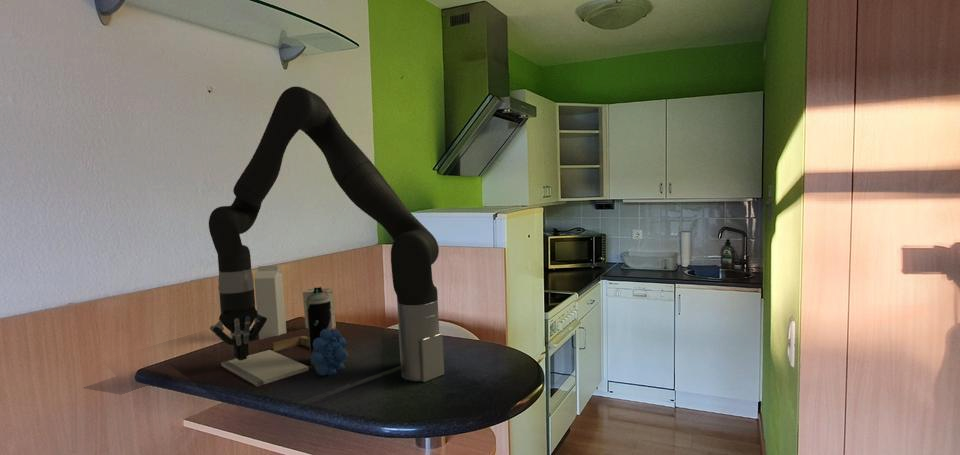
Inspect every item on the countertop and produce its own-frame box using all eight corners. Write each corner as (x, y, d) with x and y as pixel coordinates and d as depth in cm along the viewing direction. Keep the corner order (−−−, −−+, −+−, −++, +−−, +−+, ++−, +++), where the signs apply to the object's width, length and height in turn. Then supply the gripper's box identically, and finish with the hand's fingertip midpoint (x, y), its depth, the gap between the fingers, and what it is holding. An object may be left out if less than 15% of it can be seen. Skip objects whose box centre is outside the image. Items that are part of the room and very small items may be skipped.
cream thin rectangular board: (311, 365, 116) (256, 382, 107) (311, 371, 117) (257, 388, 107) (271, 348, 131) (221, 362, 122) (272, 354, 131) (221, 368, 122)
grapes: (330, 390, 107) (327, 336, 106) (306, 386, 110) (302, 333, 109) (362, 371, 118) (359, 321, 117) (339, 368, 121) (336, 320, 120)
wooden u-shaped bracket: (350, 365, 122) (349, 351, 122) (317, 376, 116) (316, 361, 116) (303, 347, 139) (302, 335, 139) (272, 355, 133) (271, 343, 132)
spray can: (316, 373, 118) (310, 290, 117) (308, 367, 122) (302, 287, 121) (338, 367, 122) (332, 286, 120) (329, 361, 126) (324, 284, 124)
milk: (279, 340, 147) (274, 267, 145) (258, 341, 147) (253, 268, 145) (286, 334, 153) (281, 263, 151) (267, 335, 153) (261, 264, 151)
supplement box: (336, 328, 158) (333, 287, 157) (330, 332, 153) (327, 290, 152) (311, 328, 159) (308, 288, 158) (305, 333, 154) (302, 291, 153)
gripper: (212, 295, 111) (218, 370, 113) (270, 285, 121) (275, 355, 122) (201, 291, 117) (207, 363, 118) (257, 282, 126) (262, 349, 127)
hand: (242, 359), depth 120 cm, fingers closed
